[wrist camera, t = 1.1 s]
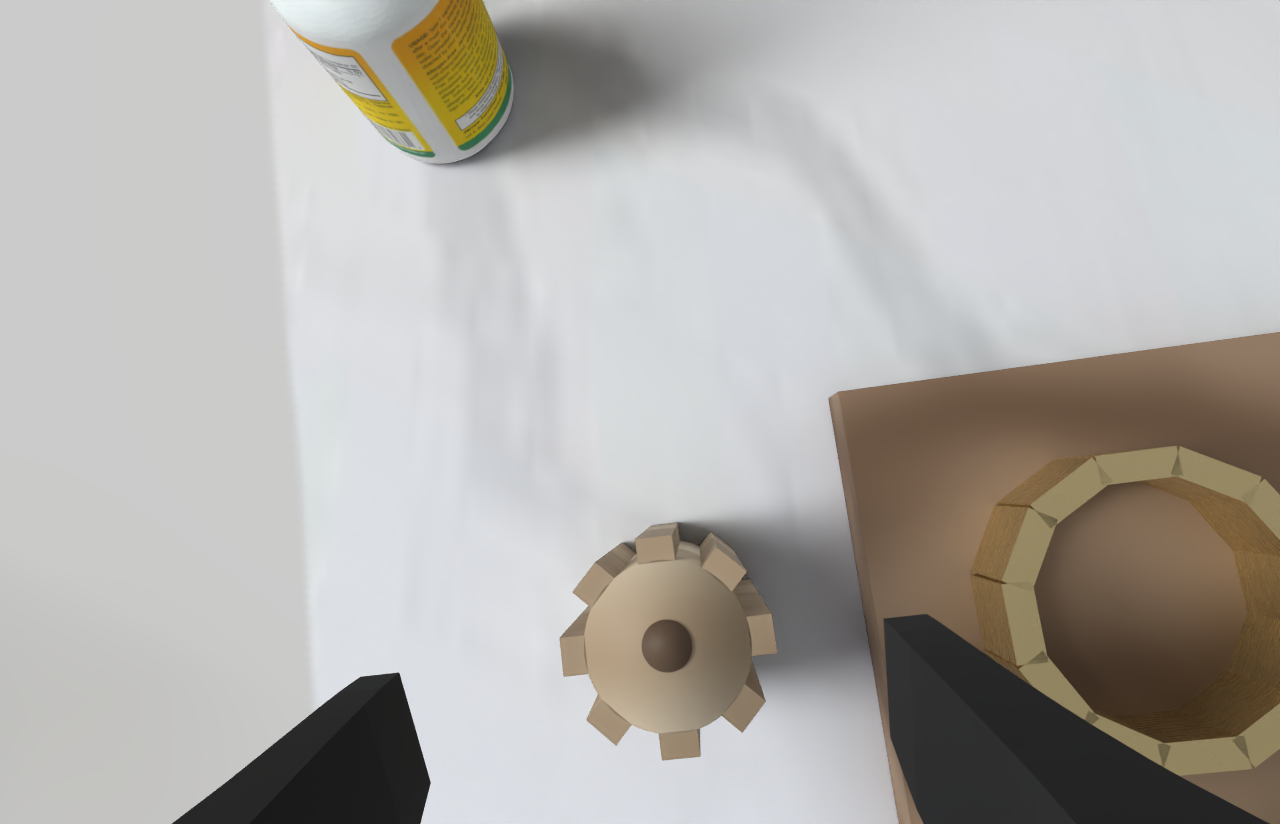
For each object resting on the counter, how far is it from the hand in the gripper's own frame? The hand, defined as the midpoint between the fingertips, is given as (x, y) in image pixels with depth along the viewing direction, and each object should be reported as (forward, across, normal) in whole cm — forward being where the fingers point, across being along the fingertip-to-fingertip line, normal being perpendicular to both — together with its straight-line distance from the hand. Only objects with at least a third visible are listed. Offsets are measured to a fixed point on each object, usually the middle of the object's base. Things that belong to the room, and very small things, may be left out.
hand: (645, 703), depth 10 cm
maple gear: (+11, 0, +5) cm, 12 cm away
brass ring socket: (+9, -13, +5) cm, 17 cm away
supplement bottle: (+18, +6, -12) cm, 23 cm away
